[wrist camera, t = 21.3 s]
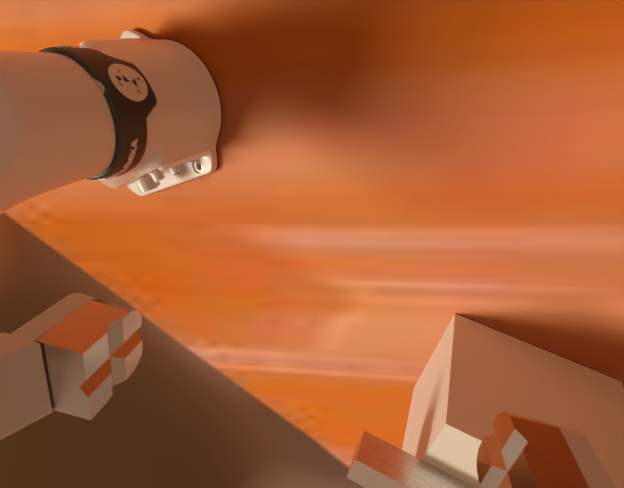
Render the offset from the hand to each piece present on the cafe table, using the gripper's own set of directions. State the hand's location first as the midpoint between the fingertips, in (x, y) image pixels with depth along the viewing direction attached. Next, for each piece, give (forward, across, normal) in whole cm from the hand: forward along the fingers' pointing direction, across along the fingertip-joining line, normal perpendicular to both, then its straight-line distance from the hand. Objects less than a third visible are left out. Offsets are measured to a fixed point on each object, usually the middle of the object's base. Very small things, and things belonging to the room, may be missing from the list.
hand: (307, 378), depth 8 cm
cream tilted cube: (+32, -23, +24) cm, 46 cm away
